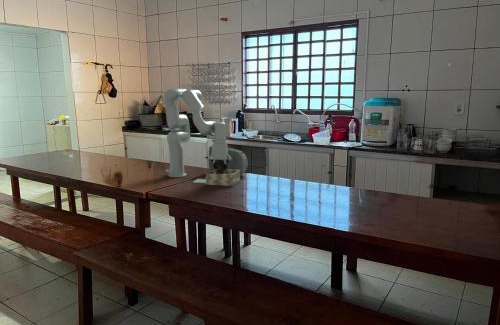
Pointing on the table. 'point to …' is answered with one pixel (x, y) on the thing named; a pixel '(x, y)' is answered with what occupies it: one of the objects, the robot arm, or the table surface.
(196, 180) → the mat
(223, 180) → the beige woven basket
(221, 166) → the statue
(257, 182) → the table surface
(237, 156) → the decorative stone tablet
